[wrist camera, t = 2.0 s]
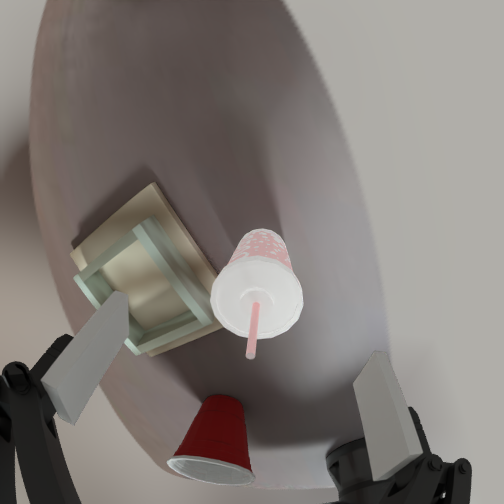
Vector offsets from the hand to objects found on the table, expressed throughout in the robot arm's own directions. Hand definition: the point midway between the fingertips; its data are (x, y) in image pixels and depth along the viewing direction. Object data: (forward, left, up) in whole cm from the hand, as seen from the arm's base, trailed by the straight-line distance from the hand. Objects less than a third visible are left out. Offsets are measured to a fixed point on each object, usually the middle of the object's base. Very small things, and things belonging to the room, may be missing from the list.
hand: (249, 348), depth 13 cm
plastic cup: (-18, +17, -14) cm, 29 cm away
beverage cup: (0, 0, -14) cm, 14 cm away
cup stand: (+3, +12, -14) cm, 19 cm away
